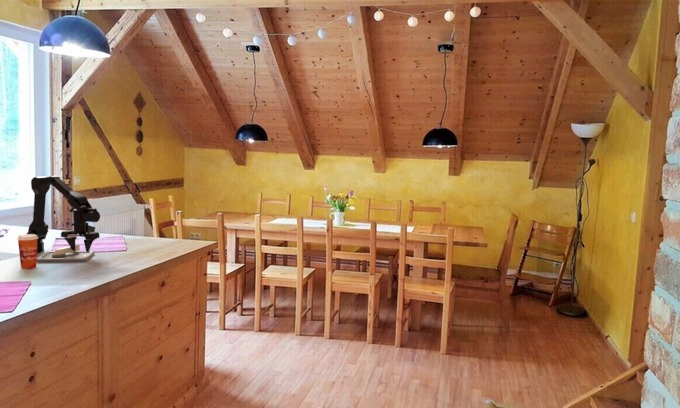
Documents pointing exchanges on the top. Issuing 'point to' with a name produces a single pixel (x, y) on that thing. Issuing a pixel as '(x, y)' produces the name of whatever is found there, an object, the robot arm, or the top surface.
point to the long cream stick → (64, 251)
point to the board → (66, 257)
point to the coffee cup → (28, 250)
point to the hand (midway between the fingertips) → (80, 251)
